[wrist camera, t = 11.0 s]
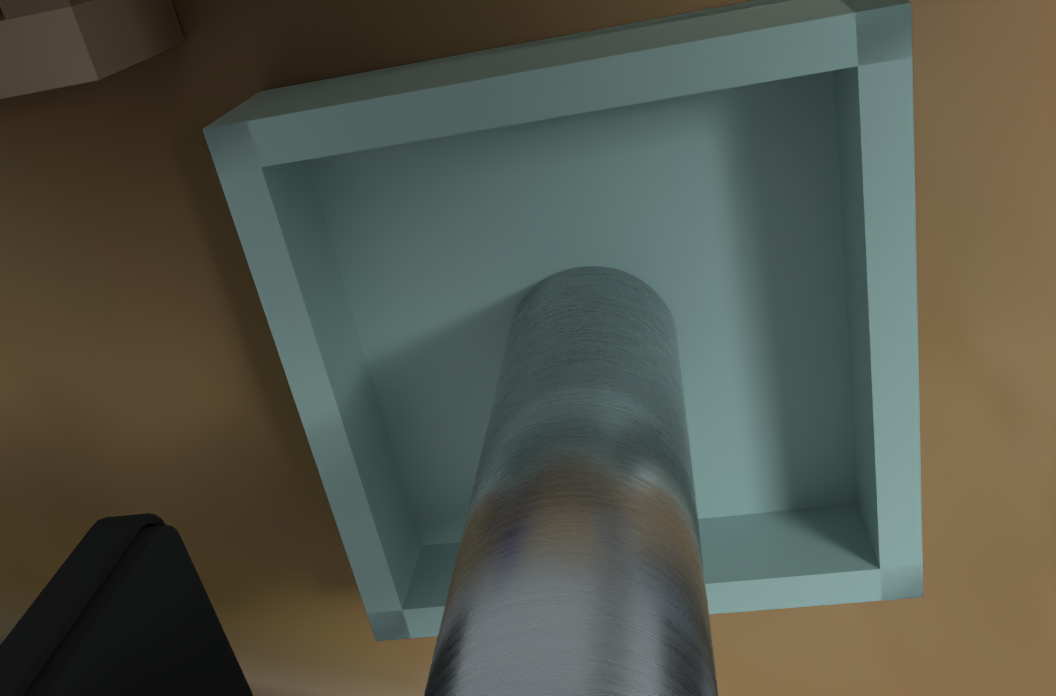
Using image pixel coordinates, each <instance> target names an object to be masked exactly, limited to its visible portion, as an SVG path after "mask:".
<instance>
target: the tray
mask: <svg viewBox="0 0 1056 696" xmlns="http://www.w3.org/2000/svg"><path fill="white" fill-rule="evenodd" d="M202 130H203V133H204V136H205V138H206V141H207V144H208V147H209V150H210V153H211V156H212V159H213V162H214V165H215V168H216V171H217V174H218V177H219V180H220V183H221V186H222V189H223V191H224V194H225V197H226V200H227V203H228V206H229V209H230V212H231V215H232V218H233V221H234V224H235V227H236V230H237V233H238V236H239V239H240V242H241V244H242V247H243V250H244V253H245V256H246V259H247V262H248V265H249V268H250V271H251V274H252V277H253V280H254V283H255V286H256V289H257V292H258V295H259V297H260V300H261V303H262V306H263V309H264V312H265V315H266V318H267V321H268V324H269V327H270V330H271V333H272V336H273V339H274V342H275V345H276V348H277V350H278V353H279V356H280V359H281V362H282V365H283V368H284V371H285V374H286V377H287V380H288V383H289V386H290V389H291V392H292V395H293V398H294V401H295V403H296V406H297V409H298V412H299V415H300V418H301V421H302V424H303V427H304V430H305V433H306V436H307V439H308V442H309V445H310V448H311V451H312V454H313V456H314V459H315V462H316V465H317V468H318V471H319V474H320V477H321V480H322V483H323V486H324V489H325V492H326V495H327V498H328V501H329V504H330V507H331V509H332V512H333V515H334V518H335V521H336V524H337V527H338V530H339V533H340V536H341V539H342V542H343V545H344V548H345V551H346V554H347V557H348V560H349V562H350V565H351V568H352V571H353V574H354V577H355V580H356V583H357V586H358V589H359V592H360V595H361V598H362V601H363V604H364V607H365V610H366V613H367V615H368V618H369V621H370V624H371V627H372V630H373V633H374V636H375V639H376V641H383V640H395V639H408V638H420V637H433V636H438V634H439V630H440V626H441V621H442V617H443V613H444V609H445V604H446V600H447V596H448V592H449V587H450V583H451V579H452V575H453V570H454V566H455V562H456V558H457V553H458V549H459V545H460V540H461V536H462V532H463V528H464V523H465V519H466V515H467V511H468V506H469V502H470V498H471V494H472V489H473V485H474V481H475V477H476V472H477V468H478V464H479V460H480V455H481V451H482V447H483V442H484V438H485V434H486V430H487V425H488V421H489V417H490V413H491V408H492V404H493V400H494V396H495V391H496V387H497V383H498V379H499V374H500V370H501V366H502V362H503V357H504V353H505V349H506V344H507V340H508V336H509V332H510V327H511V324H512V320H513V317H514V315H515V312H516V310H517V308H518V306H519V305H520V303H521V302H522V300H523V299H524V297H525V296H526V295H527V294H528V293H529V292H530V291H531V290H532V289H533V288H534V287H535V286H536V285H538V284H539V283H540V282H542V281H543V280H545V279H546V278H548V277H550V276H552V275H554V274H556V273H558V272H561V271H564V270H567V269H572V268H576V267H585V266H602V267H608V268H614V269H617V270H621V271H624V272H626V273H629V274H631V275H633V276H635V277H637V278H639V279H640V280H642V281H644V282H645V283H646V284H648V285H649V286H650V287H651V288H653V289H654V290H655V291H656V292H657V293H658V295H659V296H660V297H661V298H662V299H663V301H664V302H665V303H666V305H667V307H668V309H669V310H670V312H671V314H672V317H673V320H674V322H675V326H676V331H677V338H678V347H679V356H680V365H681V373H682V382H683V391H684V400H685V408H686V417H687V426H688V435H689V444H690V452H691V461H692V470H693V479H694V487H695V496H696V505H697V514H698V522H699V531H700V540H701V549H702V558H703V566H704V575H705V584H706V593H707V601H708V610H709V614H719V613H732V612H744V611H757V610H769V609H782V608H794V607H807V606H819V605H831V604H844V603H856V602H869V601H881V600H894V599H906V598H919V597H923V562H922V512H921V463H920V414H919V364H918V315H917V265H916V216H915V167H914V117H913V68H912V19H911V2H909V1H907V0H755V1H749V2H744V3H738V4H733V5H728V6H722V7H717V8H711V9H706V10H700V11H695V12H689V13H684V14H679V15H673V16H668V17H662V18H657V19H651V20H646V21H640V22H635V23H630V24H624V25H619V26H613V27H608V28H602V29H597V30H591V31H586V32H581V33H575V34H570V35H564V36H559V37H553V38H548V39H542V40H537V41H532V42H526V43H521V44H515V45H510V46H504V47H499V48H493V49H488V50H483V51H477V52H472V53H466V54H461V55H455V56H450V57H445V58H439V59H434V60H428V61H423V62H417V63H412V64H406V65H401V66H396V67H390V68H385V69H379V70H374V71H368V72H363V73H357V74H352V75H347V76H341V77H336V78H330V79H325V80H319V81H314V82H308V83H303V84H298V85H292V86H287V87H281V88H276V89H270V90H265V91H260V92H258V93H256V94H255V95H253V96H252V97H250V98H249V99H247V100H246V101H244V102H243V103H241V104H240V105H238V106H237V107H235V108H234V109H232V110H231V111H229V112H228V113H226V114H225V115H223V116H222V117H220V118H219V119H217V120H216V121H214V122H213V123H211V124H210V125H208V126H206V127H205V128H203V129H202Z"/></svg>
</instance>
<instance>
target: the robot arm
mask: <svg viewBox="0 0 1056 696" xmlns="http://www.w3.org/2000/svg"><path fill="white" fill-rule="evenodd" d="M0 696H253V695H252V692H251V690H250V688H249V685H248V683H247V681H246V679H245V677H244V674H243V672H242V670H241V668H240V666H239V663H238V661H237V659H236V657H235V655H234V652H233V650H232V648H231V646H230V644H229V642H228V639H227V637H226V635H225V633H224V631H223V628H222V626H221V624H220V622H219V620H218V617H217V615H216V613H215V611H214V609H213V606H212V604H211V602H210V600H209V598H208V596H207V593H206V591H205V589H204V587H203V585H202V582H201V580H200V578H199V576H198V574H197V571H196V569H195V567H194V565H193V563H192V561H191V558H190V556H189V554H188V552H187V550H186V547H185V545H184V543H183V541H182V539H181V536H180V535H179V533H178V531H177V530H176V529H175V528H174V527H173V526H169V525H165V523H164V522H163V520H162V519H161V518H159V517H158V516H157V515H155V514H138V515H127V516H116V517H106V518H103V519H100V520H98V521H97V522H96V523H95V524H94V525H93V526H92V527H91V528H90V530H89V531H88V532H87V534H86V535H85V536H84V538H83V539H82V540H81V541H80V543H79V544H78V545H77V547H76V548H75V549H74V551H73V552H72V553H71V554H70V556H69V557H68V558H67V560H66V561H65V562H64V563H63V565H62V566H61V567H60V569H59V570H58V571H57V573H56V574H55V575H54V576H53V578H52V579H51V580H50V582H49V583H48V584H47V585H46V587H45V588H44V589H43V591H42V592H41V593H40V595H39V596H38V597H37V598H36V600H35V601H34V602H33V604H32V605H31V606H30V607H29V609H28V610H27V611H26V613H25V614H24V615H23V617H22V618H21V619H20V620H19V622H18V623H17V624H16V626H15V627H14V628H13V630H12V631H11V632H10V633H9V635H8V636H7V637H6V639H5V640H4V641H3V642H2V644H1V645H0Z"/></svg>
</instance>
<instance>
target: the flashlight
mask: <svg viewBox="0 0 1056 696" xmlns="http://www.w3.org/2000/svg"><path fill="white" fill-rule="evenodd" d="M424 696H718V689H717V680H716V672H715V663H714V654H713V645H712V637H711V628H710V619H709V610H708V601H707V593H706V584H705V575H704V566H703V558H702V549H701V540H700V531H699V522H698V514H697V505H696V496H695V487H694V479H693V470H692V461H691V452H690V444H689V435H688V426H687V417H686V408H685V400H684V391H683V382H682V373H681V365H680V356H679V347H678V338H677V331H676V326H675V322H674V320H673V317H672V314H671V312H670V310H669V309H668V307H667V305H666V303H665V302H664V301H663V299H662V298H661V297H660V296H659V295H658V293H657V292H656V291H655V290H654V289H653V288H651V287H650V286H649V285H648V284H646V283H645V282H644V281H642V280H640V279H639V278H637V277H635V276H633V275H631V274H629V273H626V272H624V271H621V270H617V269H614V268H608V267H602V266H585V267H576V268H572V269H567V270H564V271H561V272H558V273H556V274H554V275H552V276H550V277H548V278H546V279H545V280H543V281H542V282H540V283H539V284H538V285H536V286H535V287H534V288H533V289H532V290H531V291H530V292H529V293H528V294H527V295H526V296H525V297H524V299H523V300H522V302H521V303H520V305H519V306H518V308H517V310H516V312H515V315H514V317H513V320H512V324H511V327H510V332H509V336H508V340H507V344H506V349H505V353H504V357H503V362H502V366H501V370H500V374H499V379H498V383H497V387H496V391H495V396H494V400H493V404H492V408H491V413H490V417H489V421H488V425H487V430H486V434H485V438H484V442H483V447H482V451H481V455H480V460H479V464H478V468H477V472H476V477H475V481H474V485H473V489H472V494H471V498H470V502H469V506H468V511H467V515H466V519H465V523H464V528H463V532H462V536H461V540H460V545H459V549H458V553H457V558H456V562H455V566H454V570H453V575H452V579H451V583H450V587H449V592H448V596H447V600H446V604H445V609H444V613H443V617H442V621H441V626H440V630H439V634H438V638H437V643H436V647H435V651H434V656H433V660H432V664H431V668H430V673H429V677H428V681H427V685H426V690H425V694H424Z"/></svg>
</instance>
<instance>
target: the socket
mask: <svg viewBox="0 0 1056 696" xmlns="http://www.w3.org/2000/svg"><path fill="white" fill-rule="evenodd" d="M0 7H1V10H2V12H3V13H2V14H0V99H4V98H9V97H14V96H19V95H25V94H30V93H35V92H40V91H45V90H51V89H56V88H61V87H66V86H72V85H77V84H82V83H87V82H92V81H98V80H101V79H103V78H105V77H108V76H110V75H112V74H114V73H117V72H119V71H121V70H123V69H126V68H128V67H130V66H132V65H135V64H137V63H139V62H142V61H144V60H146V59H148V58H151V57H153V56H155V55H157V54H160V53H162V52H164V51H167V50H169V49H171V48H173V47H176V46H178V45H180V44H182V43H185V39H184V36H183V33H182V30H181V27H180V24H179V21H178V18H177V15H176V12H175V9H174V6H173V3H172V0H0Z"/></svg>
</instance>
